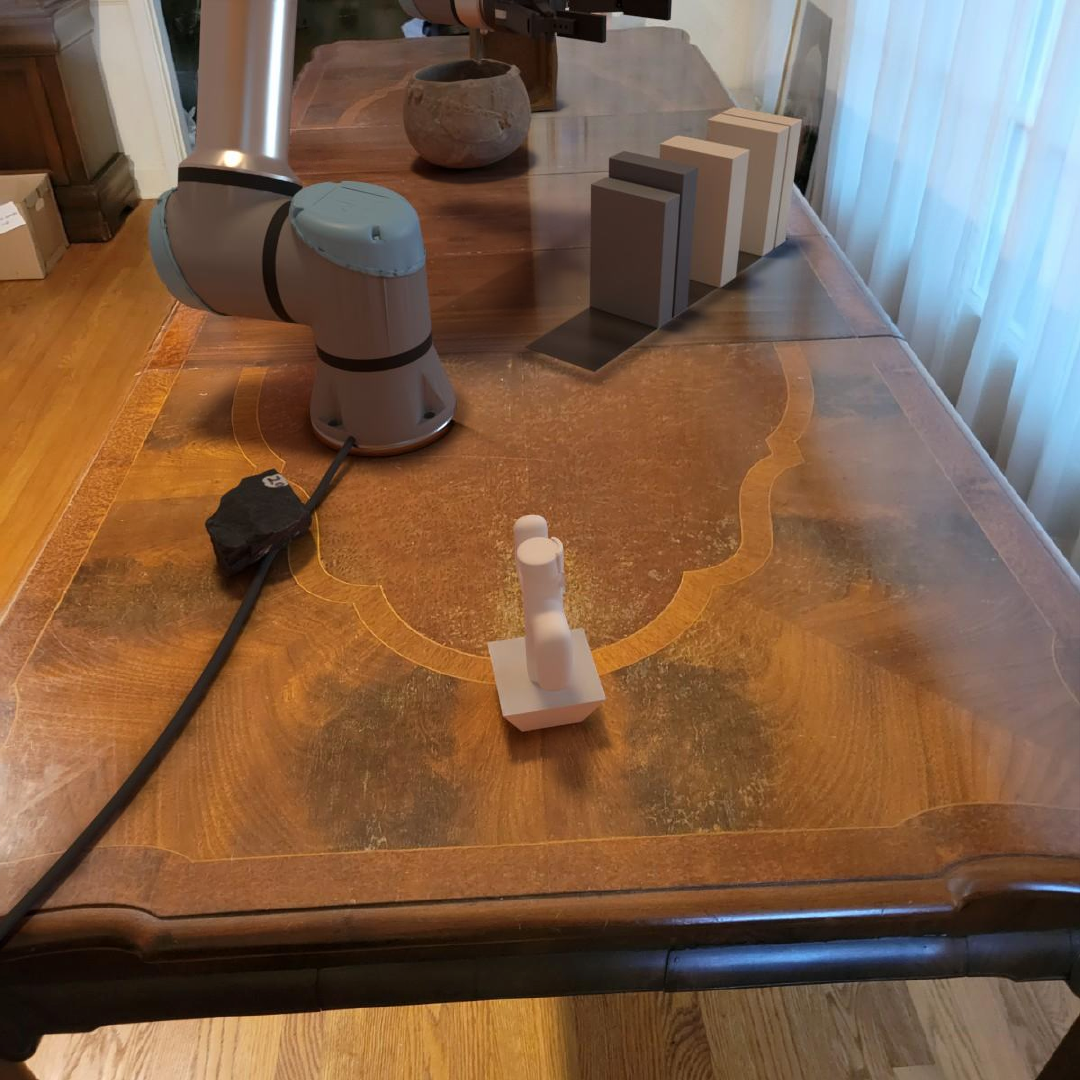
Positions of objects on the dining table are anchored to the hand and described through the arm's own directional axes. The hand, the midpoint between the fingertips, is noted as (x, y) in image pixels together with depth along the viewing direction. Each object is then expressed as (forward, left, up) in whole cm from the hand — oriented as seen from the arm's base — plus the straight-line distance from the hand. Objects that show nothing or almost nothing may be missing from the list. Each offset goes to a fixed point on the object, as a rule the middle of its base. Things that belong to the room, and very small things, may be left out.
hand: (638, 18), depth 114 cm
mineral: (-55, +43, -30) cm, 76 cm away
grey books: (-16, +2, -29) cm, 33 cm away
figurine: (-77, +21, -30) cm, 85 cm away
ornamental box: (+90, +8, -30) cm, 96 cm away
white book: (-7, -7, -29) cm, 30 cm away
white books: (+2, -16, -29) cm, 33 cm away
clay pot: (+45, +19, -30) cm, 58 cm away
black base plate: (-11, -3, -30) cm, 32 cm away
